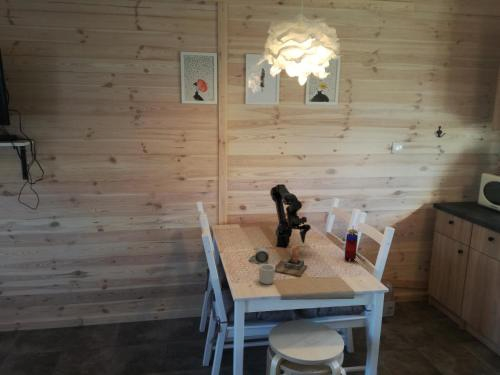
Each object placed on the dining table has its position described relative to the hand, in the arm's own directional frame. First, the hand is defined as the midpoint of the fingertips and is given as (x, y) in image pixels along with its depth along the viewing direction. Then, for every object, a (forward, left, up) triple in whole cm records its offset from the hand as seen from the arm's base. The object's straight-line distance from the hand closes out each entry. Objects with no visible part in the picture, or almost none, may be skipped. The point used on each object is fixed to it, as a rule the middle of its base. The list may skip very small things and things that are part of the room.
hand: (296, 242), depth 219 cm
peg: (+2, -10, -10) cm, 14 cm away
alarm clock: (+26, +17, -11) cm, 33 cm away
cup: (-6, -31, -11) cm, 33 cm away
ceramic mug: (-18, -10, -11) cm, 23 cm away
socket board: (+1, -12, -11) cm, 16 cm away
